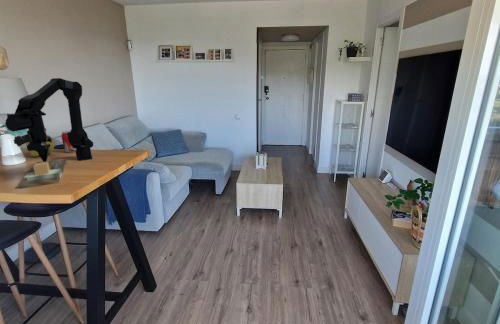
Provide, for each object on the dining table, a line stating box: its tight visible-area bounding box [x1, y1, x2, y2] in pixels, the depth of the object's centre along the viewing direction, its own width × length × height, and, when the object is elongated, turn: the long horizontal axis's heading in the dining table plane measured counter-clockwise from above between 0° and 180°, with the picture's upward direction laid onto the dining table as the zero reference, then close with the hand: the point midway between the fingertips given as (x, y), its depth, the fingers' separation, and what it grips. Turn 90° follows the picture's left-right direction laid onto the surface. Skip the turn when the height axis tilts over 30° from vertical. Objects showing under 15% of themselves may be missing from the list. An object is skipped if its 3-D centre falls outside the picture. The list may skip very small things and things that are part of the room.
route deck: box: [19, 158, 68, 189], centre depth 122 cm, size 12×32×4 cm, turn 27°
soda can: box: [60, 130, 76, 154], centre depth 160 cm, size 7×7×12 cm
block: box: [32, 162, 50, 175], centre depth 116 cm, size 4×4×4 cm
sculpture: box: [25, 133, 55, 158], centre depth 154 cm, size 15×13×13 cm
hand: (44, 161), depth 123 cm, fingers closed
